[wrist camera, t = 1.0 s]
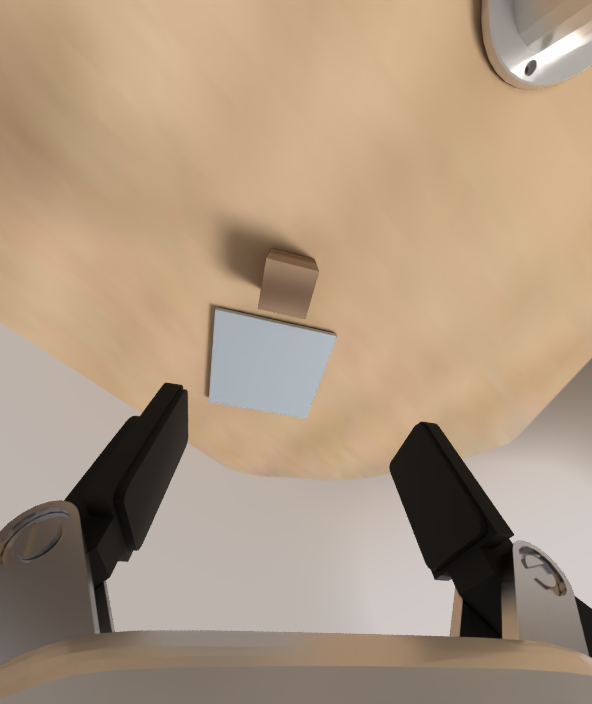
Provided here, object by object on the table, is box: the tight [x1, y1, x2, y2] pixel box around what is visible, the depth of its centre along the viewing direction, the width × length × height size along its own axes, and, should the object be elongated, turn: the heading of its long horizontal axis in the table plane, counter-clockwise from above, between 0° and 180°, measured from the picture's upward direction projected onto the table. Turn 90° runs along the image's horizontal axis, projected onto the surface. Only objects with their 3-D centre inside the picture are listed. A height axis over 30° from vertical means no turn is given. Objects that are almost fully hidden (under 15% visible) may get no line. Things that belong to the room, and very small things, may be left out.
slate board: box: [209, 307, 337, 419], centre depth 35 cm, size 16×16×1 cm
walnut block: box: [258, 248, 319, 319], centre depth 26 cm, size 5×5×6 cm
